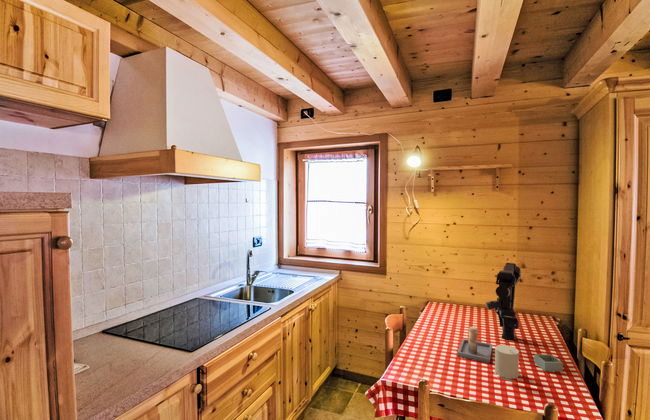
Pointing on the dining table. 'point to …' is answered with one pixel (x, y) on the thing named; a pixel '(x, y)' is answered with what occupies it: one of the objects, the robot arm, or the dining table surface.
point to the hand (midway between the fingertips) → (503, 328)
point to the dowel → (473, 340)
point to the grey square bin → (548, 362)
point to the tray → (482, 351)
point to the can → (506, 362)
